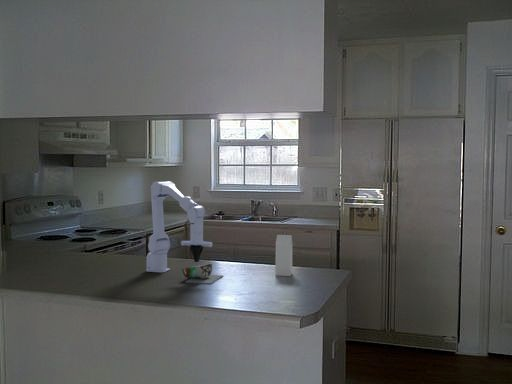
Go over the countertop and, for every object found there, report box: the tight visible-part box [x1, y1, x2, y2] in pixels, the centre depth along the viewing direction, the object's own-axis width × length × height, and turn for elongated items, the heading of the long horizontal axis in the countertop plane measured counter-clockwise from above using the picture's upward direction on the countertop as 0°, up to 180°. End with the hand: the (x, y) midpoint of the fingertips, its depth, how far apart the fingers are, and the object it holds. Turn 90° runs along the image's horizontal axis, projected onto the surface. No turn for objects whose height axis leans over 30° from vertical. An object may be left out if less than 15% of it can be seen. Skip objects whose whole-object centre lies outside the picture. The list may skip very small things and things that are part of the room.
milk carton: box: [274, 234, 294, 277], centre depth 254 cm, size 7×7×19 cm
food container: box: [181, 263, 213, 279], centre depth 244 cm, size 12×6×10 cm
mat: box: [185, 274, 224, 285], centre depth 243 cm, size 12×16×1 cm
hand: (196, 261), depth 244 cm, fingers closed
